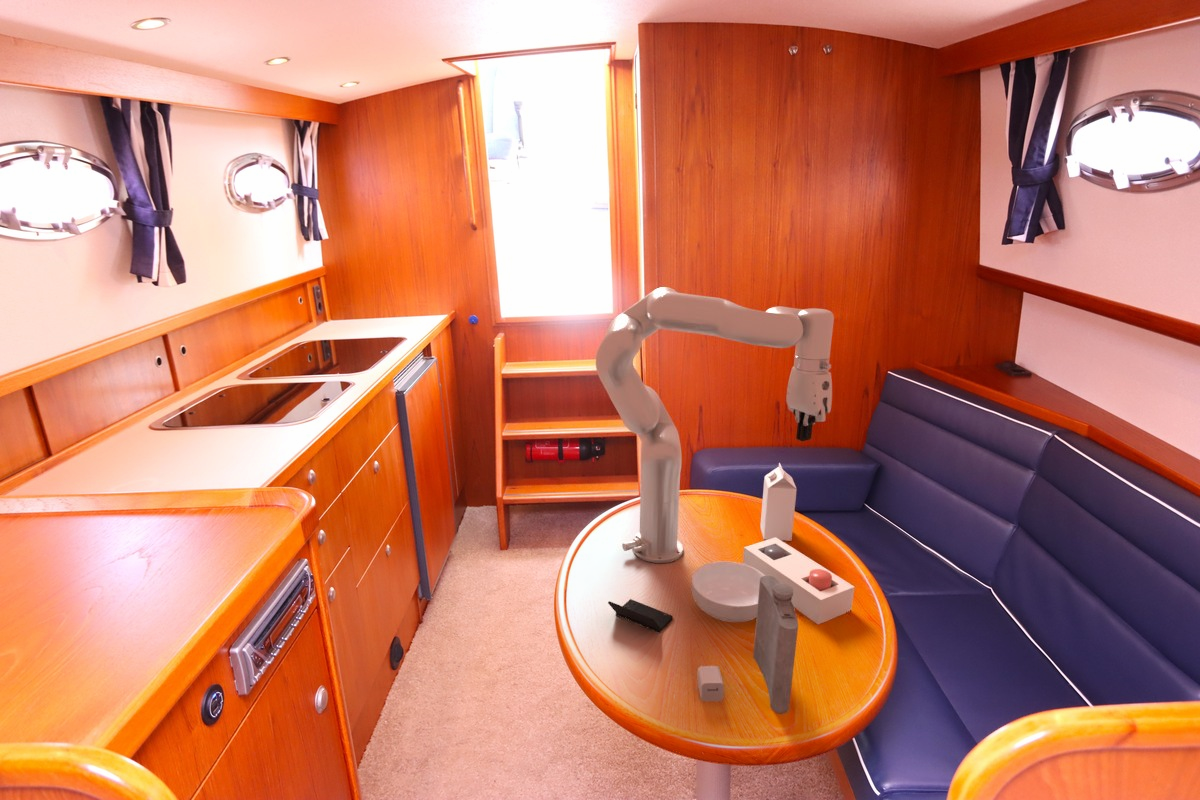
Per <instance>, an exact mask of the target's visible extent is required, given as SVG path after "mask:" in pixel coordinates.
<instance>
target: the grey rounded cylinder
mask: <svg viewBox="0 0 1200 800" xmlns="http://www.w3.org/2000/svg"><path fill="white" fill-rule="evenodd" d="M764 554H765V555H767V556H768V557H770V558H771V559H773V560H777V559H780V558H783V557H784V556H785V550H784V549H783V548H781V547H779V546H775V545H770V546H767V547H765V551H764Z"/></svg>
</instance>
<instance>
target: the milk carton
mask: <svg viewBox="0 0 1200 800" xmlns="http://www.w3.org/2000/svg"><path fill="white" fill-rule="evenodd" d="M796 498H797V486H796V483H795V482H794V479H793V476H791V475H790V474H788V473H787V472H786V471H785V470H784V469H783V467H782V465H781V463H780V462H779V463H778V466H777V467H776V468H774V469H773V470H771V471H770V472H769V473H767V474H766V475H764V480H763V492H762V502H761V513H760V515H761V516H760V526H759V527H760V531H761V535H762V538H763V540H764V541H765V540H768V539H772V538H775V537H776V538H778V539H779V540H781V541H784V542H786V541H788V542H789V541H790V542H792V541H793V540H792V539H793V538H792V537H793V529H794V519H795V507H796V502H797V501H796V500H797V499H796Z"/></svg>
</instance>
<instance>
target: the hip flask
mask: <svg viewBox="0 0 1200 800" xmlns="http://www.w3.org/2000/svg"><path fill="white" fill-rule="evenodd" d="M792 596H793V588H792V587H791V586H789V585H787V584H782V583H779V582H778V580H777V579H776V578H774V577H772V576H762V577H761V578H760V585H759V597H758V608H757V617H756V619H755V621H756V623H755V633H754V634H755V635H754V644H753V646H754V647H753V656H752V657H753V659H754V660H753V661H755V663H756V664H757V667H758V668H759V669H760V671H761V674H762V676H763V679H764V682H765V684H766V687H767V690H768V691H767V692H768V696H769V703H770V705H769V706H770V708H771V710H772V711H773V712H775V713H777V714H783V715H784V714H787V713H788V712H789V710H790V703H791V693H792V682H793V674H794V667H795V666H794V665H795V658H796V657H795V656H796V647H797V638H798V632H799V631H798V629H799V621H798V617H797V616H798V615H797V613H796V610H795V609H796V608H794V607H793V604H792V602H791V599H792Z"/></svg>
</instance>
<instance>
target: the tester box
mask: <svg viewBox="0 0 1200 800" xmlns="http://www.w3.org/2000/svg"><path fill="white" fill-rule="evenodd" d="M770 545H775V546H779V547H781V548H783V549H784V550H785V556H784V557H783V558H780V559H777V560H773V559H771V558H770V557H768V556H767V555H765V554H764V551H765V547H767V546H770ZM742 556H743V557H742V564H745V565H748V566H750V567H753V568H755V569H757V570H758V571H760V572H761V573H763V574H764V575H765V576H772V577H774V578H776V579H777V580H778V582H779V583H782V584H787V585H789V586H791V587H792V588H793V596H792V599H791V602H792V604H793V607H794V609H796V610H798V612H800V613H801V614H802V615H804V616H805V617H807V618H808V619H809V620H811V621H812V622H814V624H817V625H821V624H822V623H825V622H827V621H830V620H832V619H834V618H837V617H840V616H842V615H844V614H846V612H847V613H849V612H851V611H852V607H853V601H854V592H855V586H854V585H852V584H851V583H849V582H847V580H844V579H843V578H841V577H840V576H838V575H837V574H835V573H833V572H832V571H830V570H829V569H827V568H825V567H824V566H823V565H821V564H819V563H817V562H816V561H814V560H813V559H811V558H810V557H808V556H806V555H805V554H803V553H801V551H799V550H797V549H796V548H794V547H792V546H790V544H787V543H786V542H785V541H784V540H779V539H778V538H776V537H775V538H772V539H768V540H765V539H764V540H762V541H760V542H757V543H753V544H751V545H747V546H744V547H743V554H742ZM814 569H821V570H825V571H827V572H829V573H830V574H831V575H832V580H831V588H829V589H826V590H824V591H821V592H820V591H819V590H817V589H816V588H814V587H813V586H811V585H810V584H808V583H809V574H810V571H811V570H814ZM850 610H851V611H850ZM848 611H849V612H848Z"/></svg>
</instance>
